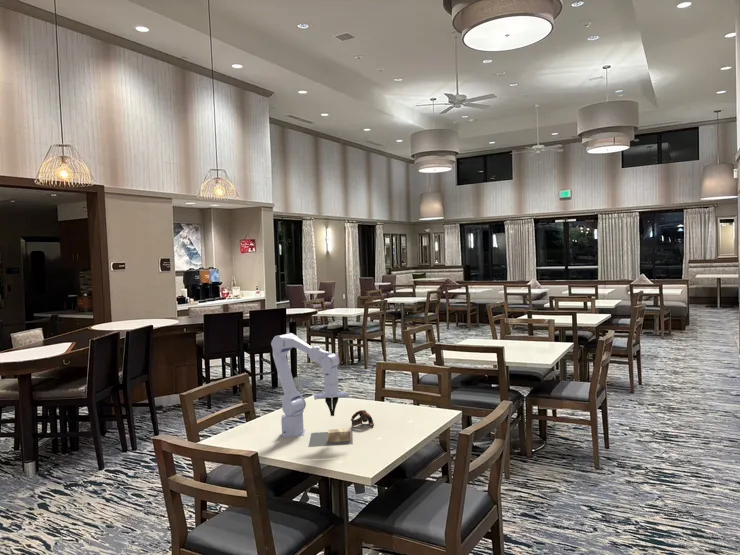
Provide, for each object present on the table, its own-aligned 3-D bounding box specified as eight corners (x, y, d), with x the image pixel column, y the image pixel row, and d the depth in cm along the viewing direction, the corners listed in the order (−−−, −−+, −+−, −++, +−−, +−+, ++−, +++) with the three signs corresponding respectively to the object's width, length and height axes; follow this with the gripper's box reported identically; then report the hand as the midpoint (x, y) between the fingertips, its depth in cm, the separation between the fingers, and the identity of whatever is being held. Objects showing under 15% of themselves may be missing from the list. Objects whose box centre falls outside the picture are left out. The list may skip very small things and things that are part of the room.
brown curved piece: (375, 430, 237) (366, 415, 235) (357, 439, 239) (347, 425, 237) (376, 415, 249) (366, 402, 247) (358, 424, 250) (349, 411, 248)
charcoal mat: (308, 447, 217) (308, 446, 217) (311, 433, 235) (311, 432, 235) (352, 445, 217) (352, 444, 217) (352, 431, 235) (352, 430, 235)
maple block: (327, 432, 221) (349, 431, 221) (328, 429, 225) (349, 428, 225) (328, 442, 221) (350, 441, 221) (328, 439, 225) (350, 437, 225)
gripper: (313, 386, 220) (314, 419, 221) (348, 384, 221) (349, 417, 221) (314, 382, 227) (315, 414, 228) (348, 380, 228) (349, 412, 228)
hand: (332, 415), depth 225 cm, fingers closed
